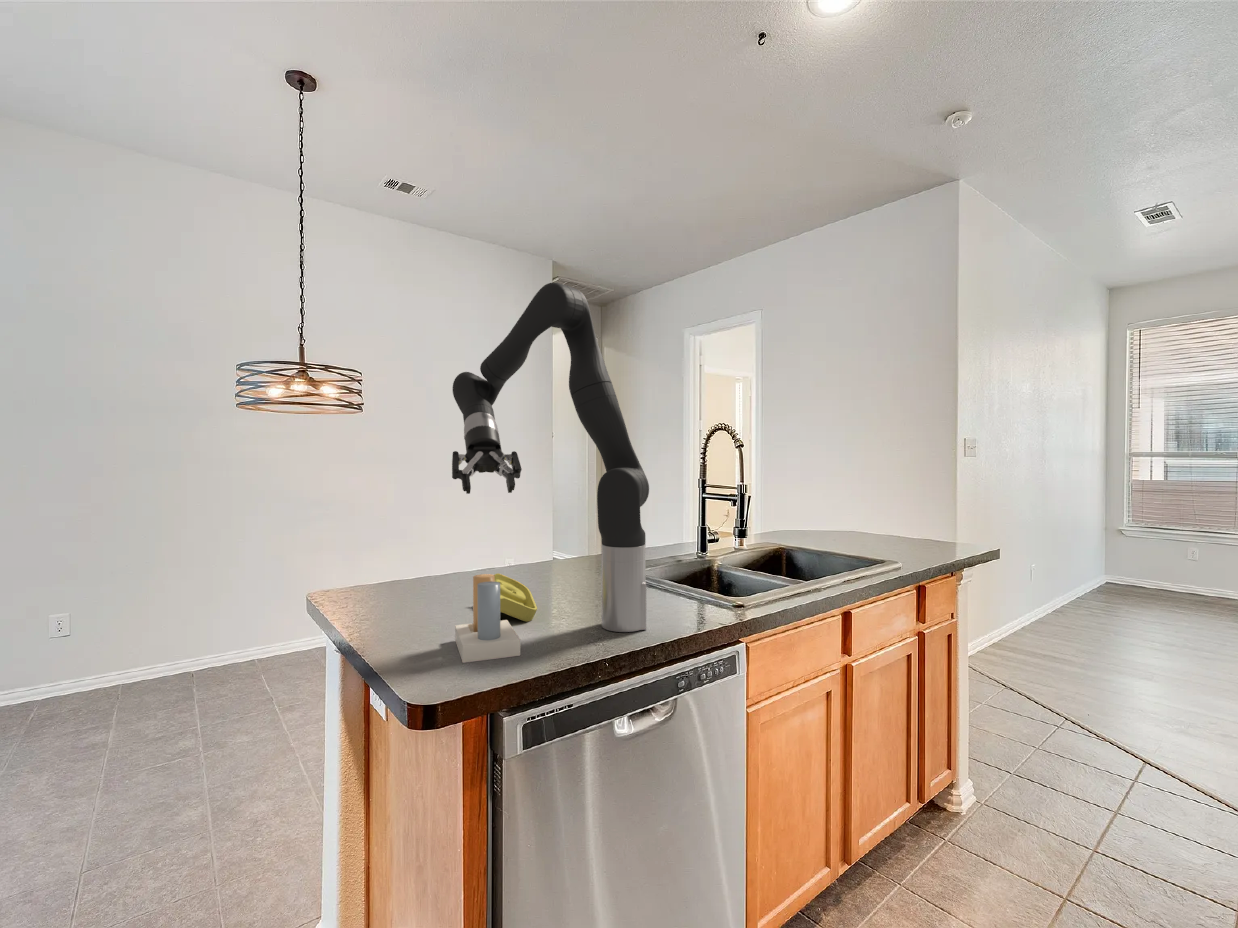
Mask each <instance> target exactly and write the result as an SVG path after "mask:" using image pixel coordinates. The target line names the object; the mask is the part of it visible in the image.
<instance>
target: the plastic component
mask: <svg viewBox="0 0 1238 928" xmlns="http://www.w3.org/2000/svg"><path fill="white" fill-rule="evenodd" d="M493 575H494V576H495V582H499V583H500V614H501V613H503V614H505V615H506V616H507V615H508V616H510V617H512V618H516V619H517V620H521V621H523V622H527V623H529V622H531V621H533V619H534V616H535V615H536V612H537V611H538V606H537V604H536V602H535V599H534V597H533V594H532V592H531V590H530V589H529V588H528V587H527V586H526V585H524V584H522V582H519V581H518V580H516V579H513V578H511V577H509V576H507V575H503V574H502V573H494V574H493Z"/></svg>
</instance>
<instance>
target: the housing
mask: <svg viewBox="0 0 1238 928" xmlns="http://www.w3.org/2000/svg"><path fill="white" fill-rule="evenodd" d="M454 627H455V628H454V629H455V630H454V631H455V635H454V637H455V639H454V640H455V643H456V646H457V651H458V653H459V656H460V658H461V662H462V664H465V663H472V662H480V661H487V660H488V661H489V660H495V659H496V660H497V659H504V658H511V657H519V656H521V638H520V636H519V635H518V634H517V632H516V630H515V629H514V628H513V626H512V625H511V623H510V622H509V620H508V619H502V620H501V612H500V583H499V582H482V583H479V584H478V632H473V623H472V622H471V623H464V624H455V625H454Z"/></svg>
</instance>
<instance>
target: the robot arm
mask: <svg viewBox="0 0 1238 928" xmlns="http://www.w3.org/2000/svg"><path fill="white" fill-rule="evenodd" d="M550 328H556V329H560V331H562V334H563V335H564V339H565V341H566V344H567V347H568V350H569V354H570V367H569V373H568V374H569V375H568V388H569V389H568V390H569V393H570V397H571V400H572V403H573V406H574V409H575V413H576V415H577V417H578V420H580V423H581V425H582V427H583V428H584V429H585V431H586V432H587V434H588V436H589V437H590V439H592V442H593V444H594V445H595V446H596V448H597V450H598V451H599V452H598V453H600V456H601V459H602V462H603V465H604V469H605V473H604V474H603V475H602V476H601V477H600V479H599V481H598V485H597V490H596V491H597V492H596V493H597V495H596V498H597V500H596V502H597V503H596V505H597V506H596V507H597V508H596V509H597V526H598V532H599V534H600V537H601V539H600V541H601V628H603V629H604V630H607V631H610V632H617V633H618V632H619V633H628V632H629V633H632V632H637V631H642V630H647V581H646V531H645V530H644V528H643V527H642V522H641V507H643V506H644V504H645V503H646V502H647V500H648V498H649V494H650V484H649V479H648V478H647V475H646V473H645V471H644V470H643V469H644V468H643V467H642V465H641V463H640V461H639V459H638V456H637V454H636V452H635V450H634V447H633V445H632V441H631V440H630V436H629V433H628V428H627V426H626V422H625V419H624V416H623V414H622V410H621V407H620V404H619V400H618V397H617V394H616V392H615V391H616V390H615V388H614V385H613V382H612V380H611V378H610V375H609V371H608V370H607V366H606V363H605V360H604V357H603V354H602V351H601V349H600V345H599V342H598V339H597V335H596V330H595V326H594V322H593V317H592V312H591V309H590V306H589V302H588V299H587V298H586V296H585V294H584V293H583V292H582V291H581V290H579V289H578V288H576V287H573V286H569V285H566V284H563V283H560V282H559V283H558V282H549V283H546V284H545V285H543V286H542V287H541V288H540V289H539V290H538V291H537V292H536V293H535V294H534V296H533V297H532V299H531V300H530V302H529V304H528V305H527V306H526V308H525V309H524V311H523V313H522V314H521V316H520V317H519V318H518V320H517V321H516V323H515V324H514V325H513V327H512V329H511V330H510V331H509V332H508V334H507V336H506V337H505V338H504V339H503V340H502V341H501V342H500V343H499V345H497V346H496V347H495V348H494V349H493V351H491V353H490V354H489V355H488V356H486V358H484V359H483V361H482V362H481V364H480V367H479V370H480V373H481V375H482V377H481V376H479V375H476V374H474V373H473V372H470V371H462V372H461V373H458V375H456V376H455V378H454V380H453V383H452V395H453V398H454V400H455V403H456V404H457V407H458V408H459V410H460V412H461V414H462V417H463V426H464V427H463V440H464V443H465V444H464V445H465V450H466V451H465V452H466V453H465V454H460V453H459V452H458V451H457V450H454V451H452V457H451V458H452V459H451V477H452V479H453V480H460V481H461V486H462V491H463V492H465V493H466V495H468V494H471V489H472V487H471V479H470V478H471V477H473V476H474V475H475V474H476V473H477V472H478V473H480V474H481V473H482V474H483V473H496V474H497V475H499V476H500V477H503V478H504V479H505V482H506V488H507V494H508V493H509V494H511V493H512V492H513V491H515V488H516V487H515V486H516V481H515V479H519V478H521V472H522V470H523V469H522V466H521V462H520V459H519V458H520V457H519V455H518V453H517V451H511V454H509V453H507V454H505V453H504V452H503V451H502V445H501V438H500V433H499V428H498V425H497V423H496V418H495V412H494V409H493V405H494V404H495V402H496V401H497V399H498V396H499V394H500V392H501V391H502V389H503V387H504V386H505V384H506V382H507V381H508V380H510V378H511V377H512V376H514V375H515V374H516V373H517V372H518V370H520V369H521V368H522V367H523V365H524V363H525V362H526V360H527V358H528V354H529V352H530V349H531V346H532V345H533V343H534V342H535V340H536V339H537V338H538V337H539V336H540V335H541V334H543V333H544V332H545V331H547V330H548V329H550ZM464 461H465V463H466V466H465V467H464V468H463V469H460V466H461V464H463V462H464ZM507 463H508V464H507ZM510 466H511V467H510Z"/></svg>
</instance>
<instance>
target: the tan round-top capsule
mask: <svg viewBox="0 0 1238 928" xmlns="http://www.w3.org/2000/svg"><path fill="white" fill-rule="evenodd" d="M494 575H495V574H492V573H491V574H489V573H484V574H483V573H481V574H475V575H473V576H472V587H473V589H472V594H473V595H472V601H473V602H472V608H473V610H472V614H473V615H472V616H473V618H472V619H473V621H472V622H473V632H478V584H479V583H482V582H495V576H494Z"/></svg>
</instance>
